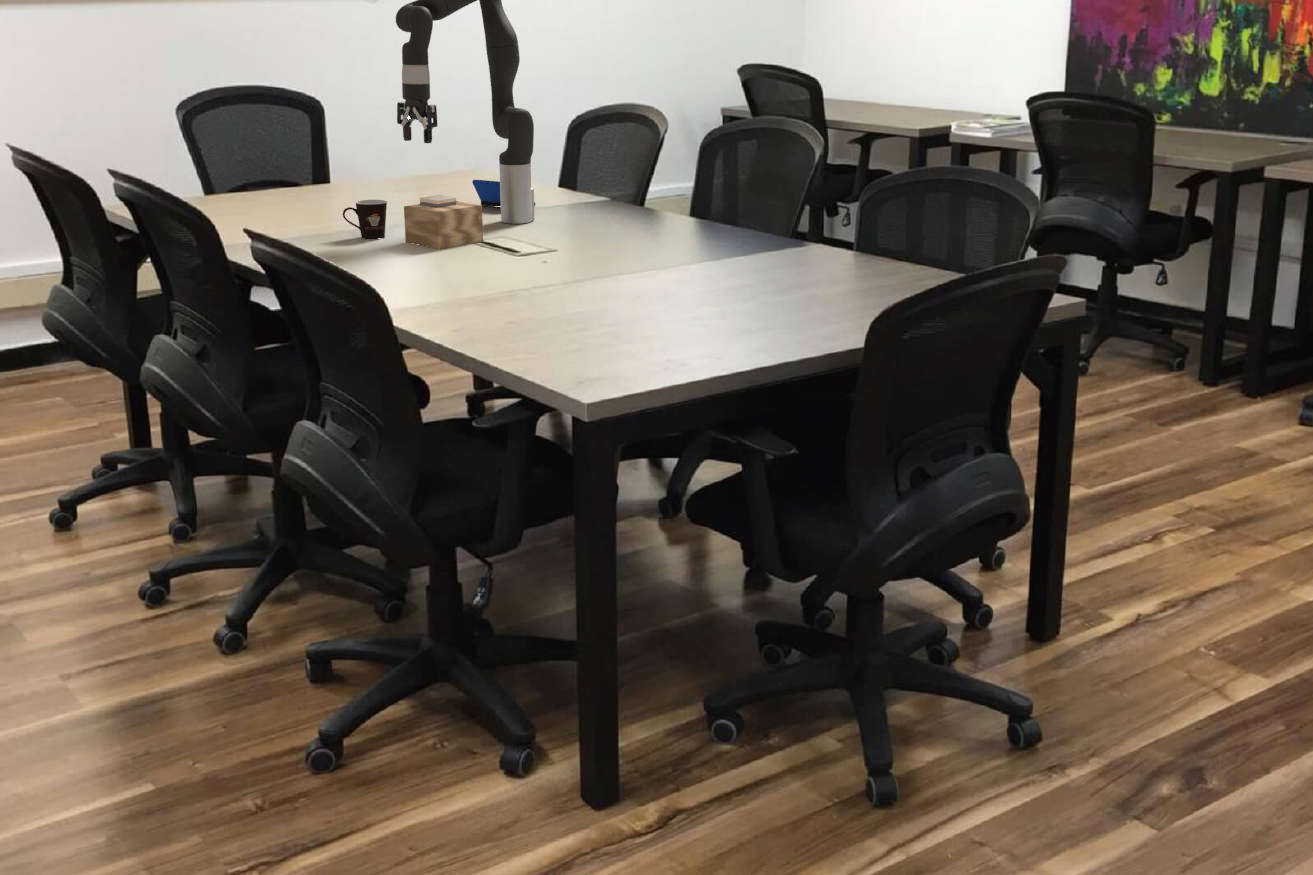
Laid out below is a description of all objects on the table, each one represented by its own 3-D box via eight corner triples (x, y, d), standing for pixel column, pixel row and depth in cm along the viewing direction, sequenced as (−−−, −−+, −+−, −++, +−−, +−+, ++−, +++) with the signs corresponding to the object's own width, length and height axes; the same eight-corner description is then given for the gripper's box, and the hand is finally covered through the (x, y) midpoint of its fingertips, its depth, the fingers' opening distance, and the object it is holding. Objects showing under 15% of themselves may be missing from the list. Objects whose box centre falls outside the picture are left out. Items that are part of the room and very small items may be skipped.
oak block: (449, 234, 421) (448, 199, 418) (483, 240, 413) (481, 204, 409) (405, 242, 410) (403, 206, 407) (439, 248, 401) (437, 212, 398)
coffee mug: (392, 235, 421) (390, 199, 418) (384, 240, 413) (382, 204, 410) (352, 234, 422) (350, 199, 419) (343, 239, 414) (340, 203, 411)
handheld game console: (537, 206, 471) (536, 177, 468) (511, 212, 460) (510, 182, 457) (498, 202, 478) (497, 173, 476) (472, 208, 468) (470, 178, 465)
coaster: (439, 202, 414) (439, 194, 413) (456, 204, 410) (456, 197, 409) (420, 205, 409) (419, 197, 408) (436, 207, 405) (436, 200, 404)
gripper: (443, 82, 404) (445, 143, 409) (409, 79, 413) (411, 138, 418) (422, 83, 399) (424, 144, 404) (388, 80, 408) (390, 140, 412)
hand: (417, 141), depth 411 cm, fingers open, 8 cm apart
